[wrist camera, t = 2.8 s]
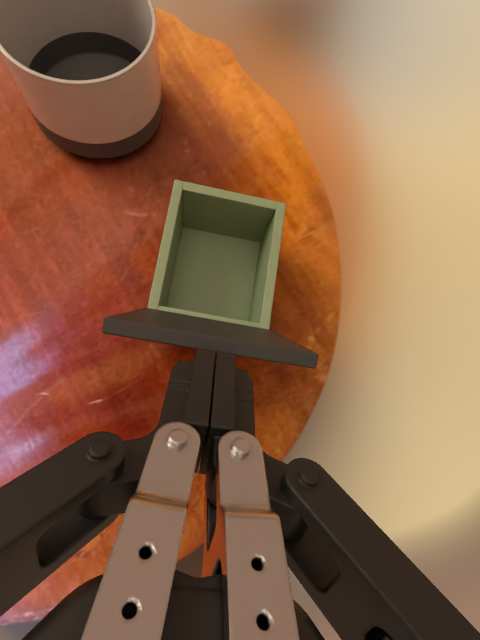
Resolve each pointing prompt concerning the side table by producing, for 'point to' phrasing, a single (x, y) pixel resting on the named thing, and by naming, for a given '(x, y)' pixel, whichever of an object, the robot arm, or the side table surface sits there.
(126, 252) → the side table surface
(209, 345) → the lid
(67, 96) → the planter
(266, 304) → the trinket box
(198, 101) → the side table surface
